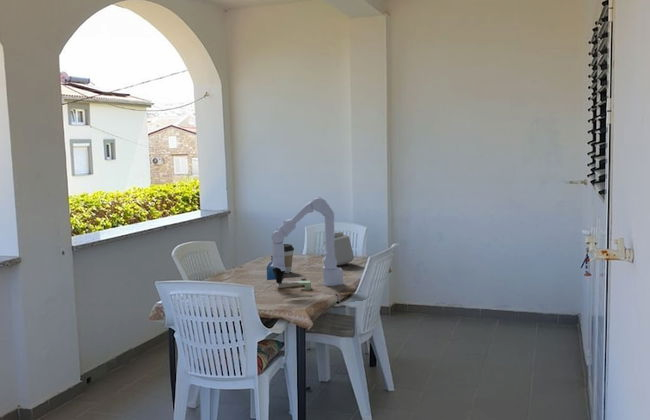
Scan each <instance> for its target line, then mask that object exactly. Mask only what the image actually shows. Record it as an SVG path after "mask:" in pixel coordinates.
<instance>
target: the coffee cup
mask: <svg viewBox="0 0 650 420" xmlns="http://www.w3.org/2000/svg"><path fill="white" fill-rule="evenodd" d="M283 245H284V264H285V272H284V273H287V274H290V273H289V272H292V267H293V256H294V250H295V247H293V245H292V244H289V243H283Z"/></svg>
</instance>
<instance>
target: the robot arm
mask: <svg viewBox="0 0 650 420" xmlns="http://www.w3.org/2000/svg"><path fill="white" fill-rule="evenodd" d="M314 211H315V212H318V213H319V214H321V215H322V216H323V217H324V242H325V244H324V255H323V257H322V263H323V265H324V266H323V267H322V284H323V286H326V287H327V286H328V287H333V286H340V285H344V273H343V269H342V268H341V267H338V265H337V260H336V258H335V249H334V233H335V212H334V210H333V209H332V208H331V206H330V205H329V204H328V202H327V201H326V200H325V199H324V198H322V197H321V196H316V197H314V198H313V199H312V200H310V201H309V202H307V203H306V204H305V205H304V206H303V207H302V208H301V209H300V210H299V211H298V212H297V213H296V214H295V215H293V217H292V218H290V219H284V220H283V221H282V222H283V223H282V224H281V225H280V226H279V227H276V228H275V229H276V230H275V231H273V233H272V235H271V240H272V243H271V244H272V246H271V254H272V255H271V256H272V258H273V262H272V261H271V262H272V265H270V266H271V267H275V269H272V271H273V272H274V275H275V278H276V279H275V281H276V284H277V283H283V279H284V278H283V277H284V275H285V274H284V272H285V264H284V245H283V244H284V240H285V238H286V237H288V236H289V235H290V234H291V233H292V232H293V231H294V230H295V229H296V227H297V224H298V222H300V221H301V220H302V219H303V218H304V217H306V215H307V214H309V213H314ZM336 265H337V266H336Z"/></svg>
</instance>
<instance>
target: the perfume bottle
mask: <svg viewBox="0 0 650 420" xmlns="http://www.w3.org/2000/svg"><path fill="white" fill-rule="evenodd" d="M270 257H271V258H270V262H269V263H268V265H267V267H266V280H268V279H269V280H270V281H274V280H275V281H276V278H275V275H274V272H273V271H272V269H275V267H271V266H270V265H272V262H273V258H272V255H271V256H270Z"/></svg>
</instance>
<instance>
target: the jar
mask: <svg viewBox="0 0 650 420" xmlns="http://www.w3.org/2000/svg"><path fill="white" fill-rule="evenodd" d="M323 242H324V245H325V241H323ZM334 249H335V258H336V260H337V265H336V266H337V267H338V266H343V265H347V264H349V263H351V262H353V260H354V258H355V257H354V252H353V247H352V244H351V240H350V236H349V235H348V234H344V232H343V231H341V232H334ZM321 259H322V260H323V257H322V258H321Z"/></svg>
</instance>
